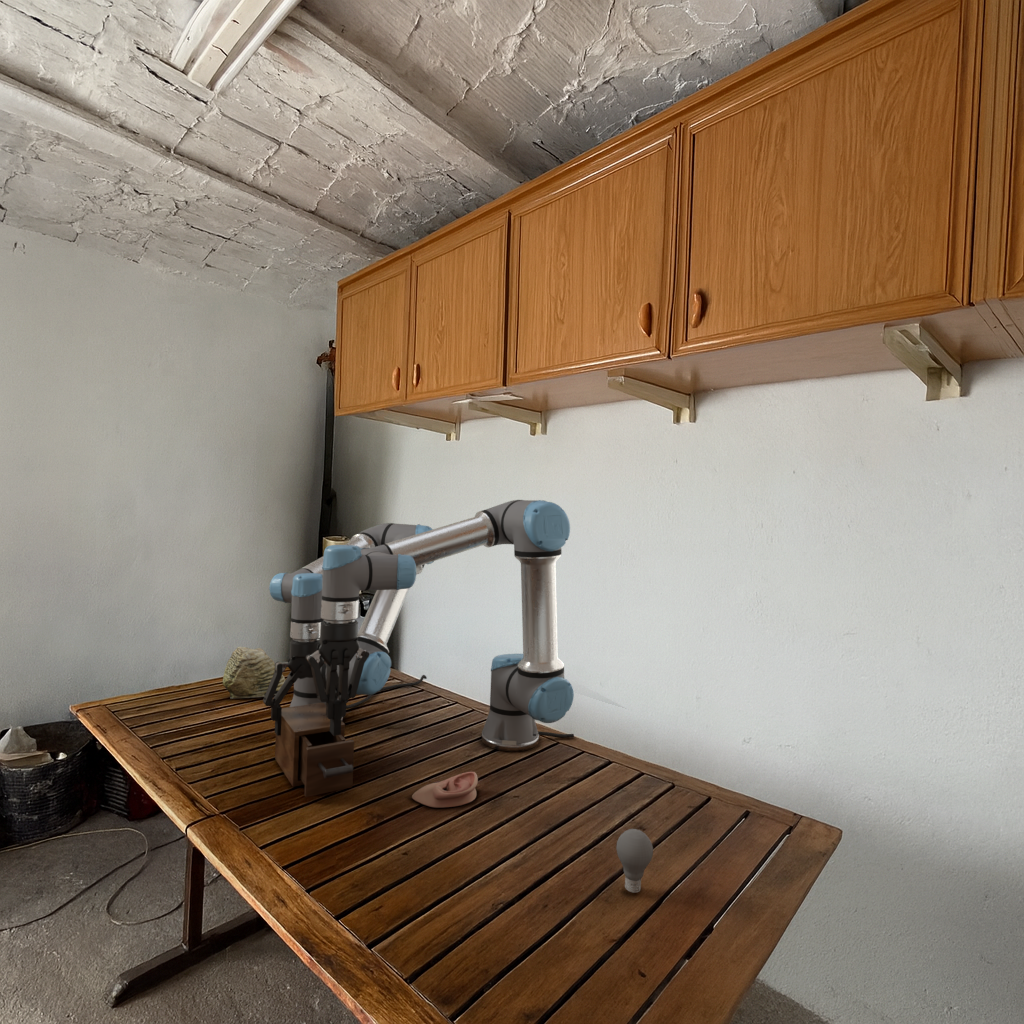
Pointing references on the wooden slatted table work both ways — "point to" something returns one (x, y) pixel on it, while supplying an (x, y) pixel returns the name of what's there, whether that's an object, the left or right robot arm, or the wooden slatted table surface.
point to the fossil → (249, 673)
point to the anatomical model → (449, 791)
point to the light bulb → (634, 857)
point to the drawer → (325, 763)
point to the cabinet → (296, 725)
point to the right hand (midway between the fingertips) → (335, 732)
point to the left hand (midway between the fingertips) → (303, 729)
